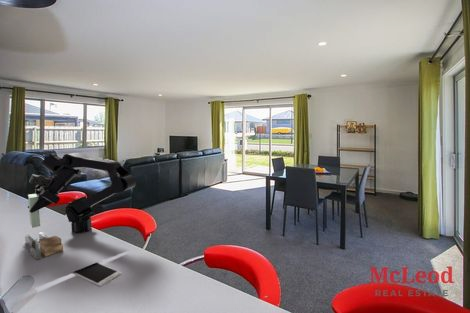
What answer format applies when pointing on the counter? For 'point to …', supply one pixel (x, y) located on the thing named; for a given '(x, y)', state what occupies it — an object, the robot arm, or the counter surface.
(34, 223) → the pale green block
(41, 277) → the counter surface
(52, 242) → the block
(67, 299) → the counter surface
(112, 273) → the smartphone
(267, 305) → the counter surface
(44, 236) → the rack
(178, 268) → the counter surface
